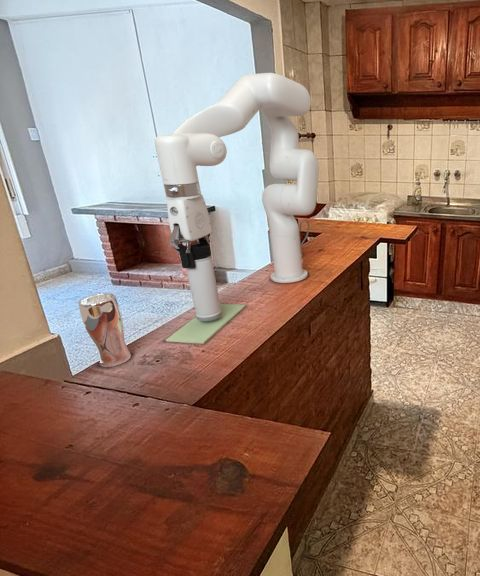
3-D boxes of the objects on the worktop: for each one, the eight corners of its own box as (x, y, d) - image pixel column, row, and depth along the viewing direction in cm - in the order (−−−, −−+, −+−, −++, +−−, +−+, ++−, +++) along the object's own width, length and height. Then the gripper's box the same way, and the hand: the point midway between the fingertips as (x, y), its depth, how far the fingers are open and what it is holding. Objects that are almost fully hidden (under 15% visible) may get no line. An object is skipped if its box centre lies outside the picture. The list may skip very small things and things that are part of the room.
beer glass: (89, 365, 87) (68, 303, 82) (118, 349, 94) (101, 290, 88) (112, 370, 85) (92, 307, 80) (140, 354, 91) (123, 294, 86)
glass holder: (276, 256, 160) (272, 220, 155) (304, 249, 170) (301, 214, 165) (289, 260, 155) (285, 223, 150) (317, 252, 165) (314, 216, 160)
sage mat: (213, 304, 117) (213, 303, 117) (245, 306, 116) (245, 304, 116) (165, 341, 97) (165, 339, 97) (203, 343, 96) (203, 342, 95)
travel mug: (190, 321, 103) (174, 246, 96) (206, 310, 109) (192, 240, 102) (212, 323, 102) (197, 248, 95) (226, 312, 108) (214, 241, 101)
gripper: (174, 197, 85) (191, 275, 92) (217, 186, 101) (228, 253, 108) (143, 196, 86) (161, 274, 93) (190, 185, 102) (203, 252, 109)
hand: (197, 262), depth 100 cm, fingers closed on travel mug, 6 cm apart
